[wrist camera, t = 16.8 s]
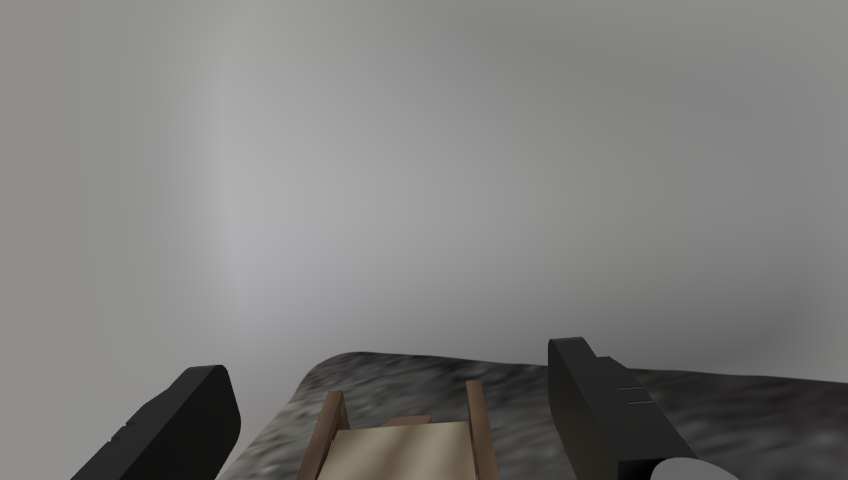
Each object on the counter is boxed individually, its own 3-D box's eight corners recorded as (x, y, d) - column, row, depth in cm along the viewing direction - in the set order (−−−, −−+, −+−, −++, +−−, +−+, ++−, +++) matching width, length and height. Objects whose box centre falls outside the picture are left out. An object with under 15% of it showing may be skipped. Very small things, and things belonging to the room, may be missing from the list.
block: (430, 479, 40) (434, 458, 49) (426, 424, 41) (431, 414, 51) (380, 482, 40) (394, 461, 49) (378, 427, 42) (392, 417, 51)
